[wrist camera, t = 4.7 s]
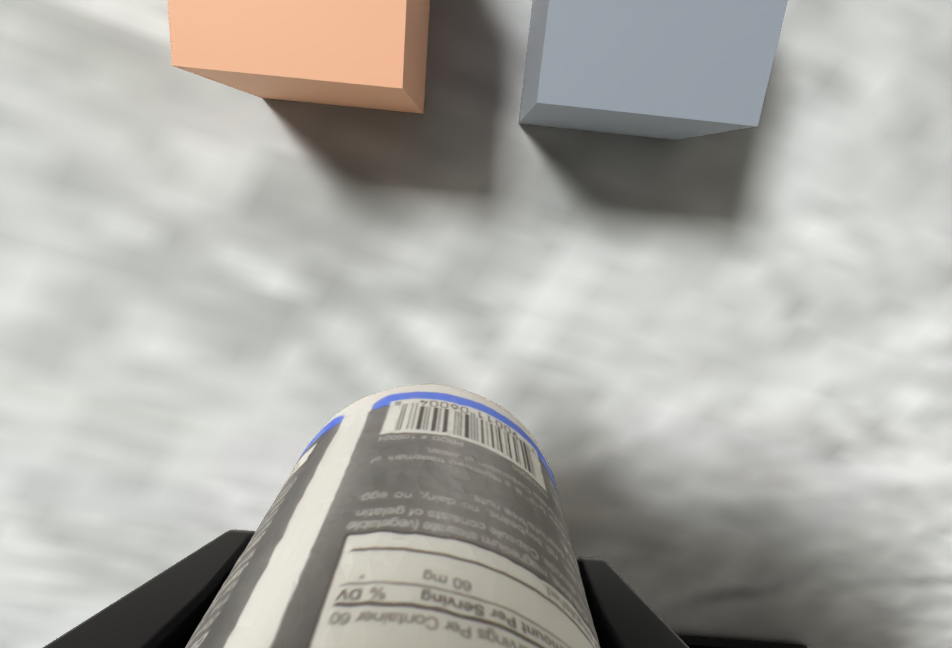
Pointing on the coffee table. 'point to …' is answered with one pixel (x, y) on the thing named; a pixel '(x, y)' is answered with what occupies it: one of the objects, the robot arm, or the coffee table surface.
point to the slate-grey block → (649, 65)
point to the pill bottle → (409, 538)
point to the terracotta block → (308, 49)
